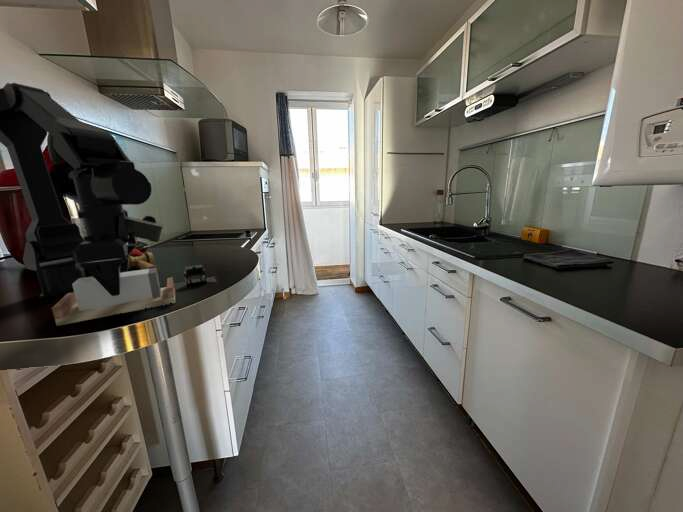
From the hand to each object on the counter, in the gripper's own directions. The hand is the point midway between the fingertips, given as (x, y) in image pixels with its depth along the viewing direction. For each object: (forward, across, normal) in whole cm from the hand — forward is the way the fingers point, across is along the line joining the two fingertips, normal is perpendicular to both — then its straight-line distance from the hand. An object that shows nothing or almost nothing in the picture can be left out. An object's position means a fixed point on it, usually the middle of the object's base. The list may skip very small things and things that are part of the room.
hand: (120, 287), depth 52 cm
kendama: (+4, +29, 0) cm, 29 cm away
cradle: (+4, 0, 0) cm, 4 cm away
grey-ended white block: (+2, 0, 0) cm, 3 cm away
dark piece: (+4, +8, -13) cm, 16 cm away
